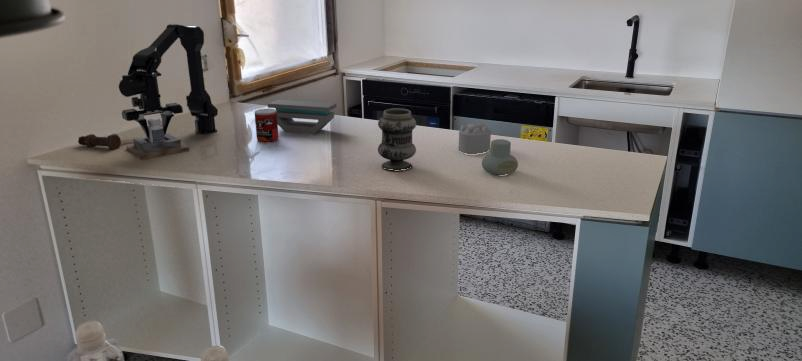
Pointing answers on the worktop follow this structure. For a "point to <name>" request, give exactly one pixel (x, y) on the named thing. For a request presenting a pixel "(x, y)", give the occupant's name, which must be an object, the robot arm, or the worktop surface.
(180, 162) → the worktop surface
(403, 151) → the apothecary jar
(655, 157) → the worktop surface
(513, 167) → the air freshener
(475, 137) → the lumpy-topped squat cylinder
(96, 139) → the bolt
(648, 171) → the worktop surface
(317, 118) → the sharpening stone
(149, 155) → the collar board
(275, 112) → the canned food
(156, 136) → the pill bottle
